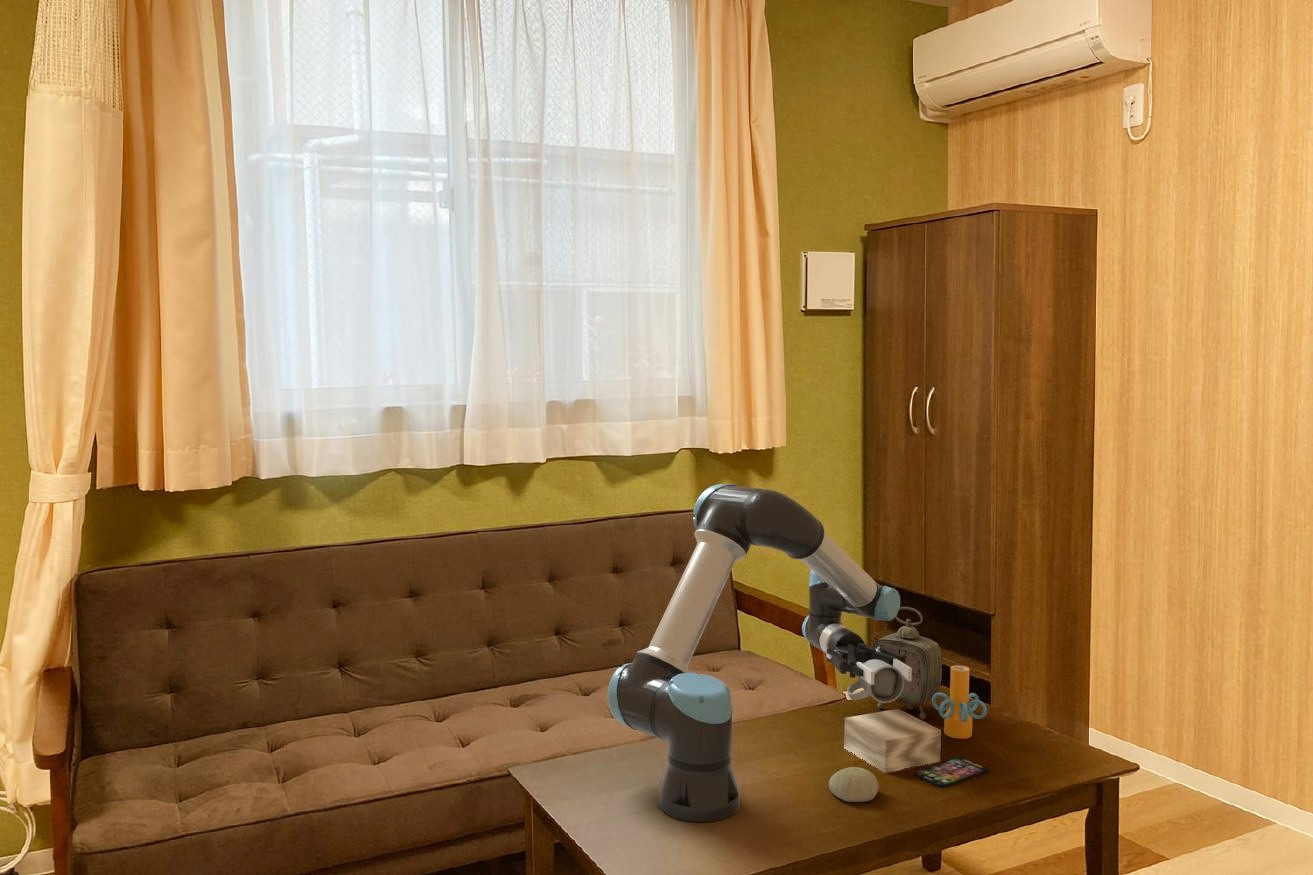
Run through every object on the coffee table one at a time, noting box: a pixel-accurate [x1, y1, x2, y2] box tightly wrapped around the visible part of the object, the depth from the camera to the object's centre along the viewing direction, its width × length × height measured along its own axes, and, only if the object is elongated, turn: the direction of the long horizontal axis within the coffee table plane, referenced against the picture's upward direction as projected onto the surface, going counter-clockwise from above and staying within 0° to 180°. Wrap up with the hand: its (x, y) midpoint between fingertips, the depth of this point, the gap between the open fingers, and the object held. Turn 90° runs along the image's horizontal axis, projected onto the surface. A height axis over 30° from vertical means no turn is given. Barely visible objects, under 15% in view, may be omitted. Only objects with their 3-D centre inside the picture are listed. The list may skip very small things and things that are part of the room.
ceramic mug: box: [846, 659, 904, 704], centre depth 214 cm, size 11×8×8 cm
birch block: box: [843, 708, 942, 774], centre depth 215 cm, size 14×14×7 cm
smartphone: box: [912, 756, 990, 789], centre depth 206 cm, size 8×1×15 cm
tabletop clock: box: [872, 606, 943, 721], centre depth 241 cm, size 14×9×25 cm, turn 50°
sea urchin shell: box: [828, 766, 879, 803], centre depth 196 cm, size 9×8×8 cm
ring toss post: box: [931, 665, 988, 740], centre depth 227 cm, size 12×10×15 cm
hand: (891, 676), depth 209 cm, fingers closed on ceramic mug, 8 cm apart
